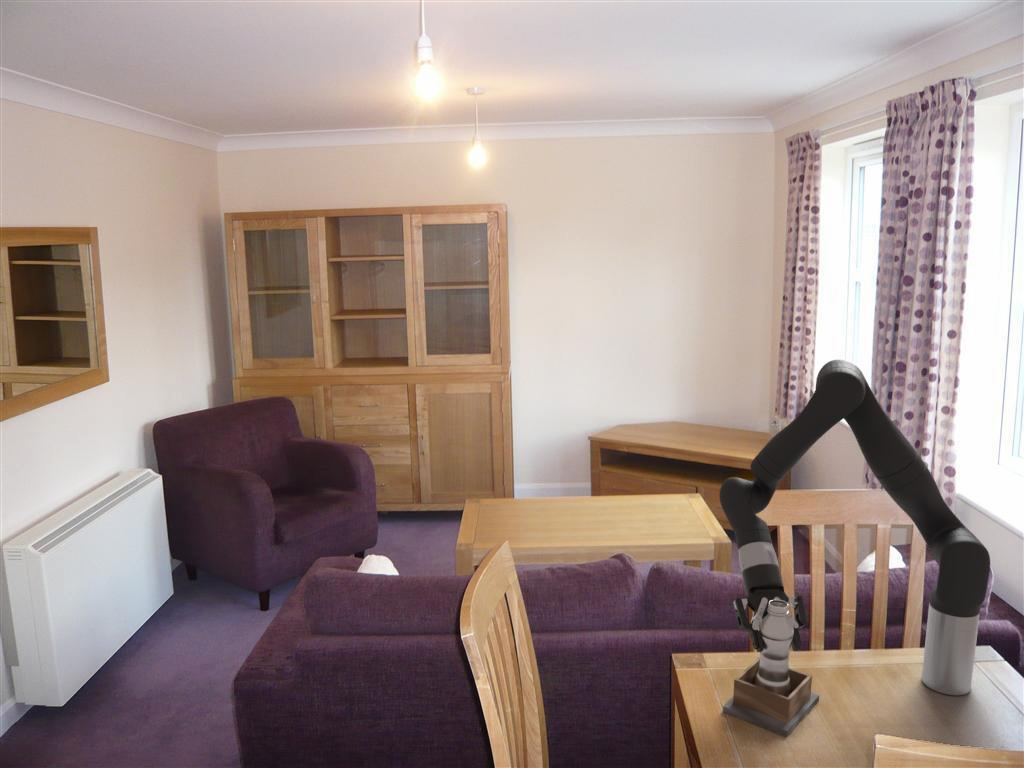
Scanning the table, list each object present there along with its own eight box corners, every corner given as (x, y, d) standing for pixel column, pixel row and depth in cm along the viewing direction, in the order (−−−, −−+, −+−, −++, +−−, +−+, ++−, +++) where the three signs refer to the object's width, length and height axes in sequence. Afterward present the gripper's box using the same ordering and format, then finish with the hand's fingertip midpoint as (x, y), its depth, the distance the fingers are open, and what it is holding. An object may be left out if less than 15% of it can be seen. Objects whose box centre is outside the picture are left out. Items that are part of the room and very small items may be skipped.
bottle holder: (757, 678, 182) (759, 651, 181) (818, 700, 174) (821, 672, 173) (722, 711, 170) (724, 682, 169) (786, 737, 162) (788, 707, 161)
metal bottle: (791, 707, 168) (798, 613, 164) (755, 703, 170) (761, 609, 166) (787, 689, 175) (794, 598, 170) (753, 686, 176) (759, 594, 172)
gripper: (730, 563, 174) (748, 646, 165) (800, 560, 175) (821, 643, 166) (721, 576, 180) (737, 657, 171) (788, 574, 181) (807, 654, 172)
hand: (778, 650), depth 168 cm, fingers open, 6 cm apart
